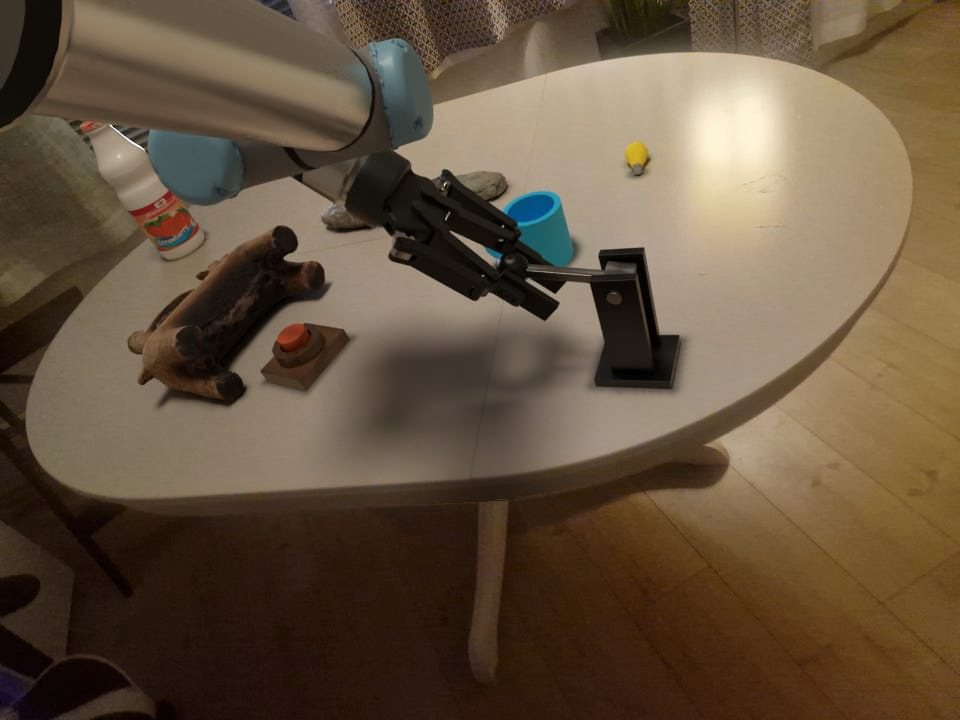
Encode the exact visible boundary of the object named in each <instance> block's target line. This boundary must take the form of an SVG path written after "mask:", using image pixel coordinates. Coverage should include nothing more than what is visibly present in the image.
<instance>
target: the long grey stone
mask: <svg viewBox="0 0 960 720" xmlns="http://www.w3.org/2000/svg"><path fill="white" fill-rule="evenodd" d="M454 176H455V177H456V178H457V179H458V180H459V181H460V182H461V183H462V184H463V185H464V186H466V187H467V188H469V189H470V190H472V191H473V192H475V193H476V194H478V195H479V196H480V197H482V198H483V199H485V200H486V201H488V200H490V199H492V198H496V197H497V196H500V195H501V194H502V193H504V191H505V190H506V188H507V185H508V184H507V183H508V181H507V180H506V179H507V178H506V176H504V175H503V173H502V172H498V171H488V170H478V171H473V172H470V173H465V174H459V175H454ZM320 216H321V217H320V221H321V222H322V224H323V225H325V226H329V227H330V228H331V229H332V228H333V229H336V230H337V229H340V228H341V229H355V228H360V227H361V228H362V227H365V226H366V227H369V228H371V229H373V227H372V226H370V225H368V224H366V223H365V222H363V221H361V220H360V219H358V218H357V217H355V216H353V215H352V214H350V213H348V212H347V211H346V208H345V202H343V203H341V204H338V205H336V204H334V203H333V202H332V203H331V204H329V205H328V206H327V207H325V208H324V209H323V210H322V212H321V214H320Z"/></svg>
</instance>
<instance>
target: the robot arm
mask: <svg viewBox="0 0 960 720" xmlns="http://www.w3.org/2000/svg"><path fill="white" fill-rule="evenodd" d="M31 115H34V116H40V117H41V116H42V117H49V118H56V119H57V118H58V119H64V120H65V119H66V120H74V121H80V122H85V121H88V122H96V123H104V124H110V125H111V126H119V127H127V128H128V127H129V128H134V129H135V128H136V129H144V130H149V133H148V137H147V154H148V156H149V160H150V162H151V165H152V167H153V169H154V172H155V173H156V174H157V176H158V178H159V180H160V181H161V183H162V184H163V185H164V186H165V187H166V188H167V189H168V190H169V191H170V192H171V193H172V194H173V195H175V196H176V197H178V198H179V199H180V200H181V201H182V202H185V203H189V204H191V205H195V206H199V207H210V206H216V205H217V204H219V203H222V202H224V201H226V200H232V199H235V198H236V197H237V196H238V195H239V194H240V193H242V191H244V190H247V189H250V188H253V187H256V186H260V185H263V184H267V183H271V182H274V181H278V180H282V179H286V178H289V177H290V178H291V179H294V180H296V181H297V182H298V183H300V184H301V185H303V186H305V187H306V188H308V189H310V190H311V191H313V192H314V193H317V194H318V195H320V196H322V197H323V198H324V199H326V200H327V201H329V202H331V203H332V204H333V203H334V204H336V205H338V204H341V203H343V202H345V208H346V211H347V212H348V213H350V214H352V215H353V216H355V217H357V218H358V219H360V220H361V221H363V222H365V223H366V224H368V225H370V226H372V228H376V227H378V226H381V227H382V228H383V229H384V230H385V231H386V232H387V234H388V236H390V237H391V238H392V239H391V248H390V250H389V251H388V255H387V258H388V259H389V261H390V262H391V263H395V264H399V265H400V264H401V265H404V266H407V267H411V268H412V269H414V270H417V271H418V272H420V273H422V274H424V275H425V276H427V277H429V278H431V279H432V280H434V281H436V282H438V283H439V284H442V285H444V287H447V288H449V289H451V290H452V291H454V292H456V293H458V294H460V295H462V296H463V297H465V298H467V299H469V300H470V301H472V302H479V300H480V299H481V298H486V297H487V296H488V294H489V293H490V294H493V296H496V297H497V298H499V299H501V300H502V301H505V302H506V303H507V304H509V305H510V306H511V307H515V308H519V307H520V308H521V309H523V310H525V311H526V312H529V313H530V314H532V315H533V316H535V317H536V318H538V319H540V320H541V321H543V322H546V321H547V320H548V319H549V318H550V317H551V316H552V315H553V313H555V311H556V310H558V309H559V307H560V303H561V302H560V301H559V300H557V299H555V298H554V297H552V296H551V295H549V294H547V293H546V292H544V291H543V290H541V289H539V288H538V287H536V286H535V285H533V284H532V283H529V282H528V281H527V280H526V281H525V280H523V279H522V278H520V277H518V276H517V275H515V274H514V273H512V272H510V271H509V270H507V269H505V270H504V271H503V273H502V274H501V275H500V273H499V272H498V271H497V270H496V269H495V266H492V265H491V264H490V263H489V262H488V261H486V260H485V259H484V258H483V257H481V255H479V254H478V253H477V252H475V251H474V250H473V249H472V248H471V247H469V246H468V245H467V244H465V242H463V241H462V240H461V239H459V238H458V237H457V236H456V235H455V234H457V235H459V236H461V237H462V238H465V239H467V240H469V241H472V242H474V243H475V244H479V245H480V246H483V247H484V246H485V247H487V248H489V249H491V250H493V251H495V252H498V253H500V254H502V255H504V254H506V253H508V252H517V253H520V254H522V255H523V256H524V257H525V258H526V259H527V260H528V262H529V264H534V265H546V266H555V265H553V264H551V263H550V262H548V261H547V260H545V259H544V258H542V256H541V254H540V253H538V252H537V251H535V250H534V249H532V248H530V247H529V246H527V245H526V244H524V243H523V242H521V241H520V240H519V238H520V237H521V235H522V232H521V231H520V230H519V229H518V228H517V227H518V223H517V222H516V221H515V220H514V219H512V218H511V217H509V216H508V215H507V214H505V213H504V212H502V211H503V210H501V209H499V208H498V207H496V206H495V205H494V204H492V203H490V202H489V201H488V200H485V199H483V198H482V197H480V196H479V195H478V194H476V193H475V192H473V191H472V190H470V189H469V188H467V187H466V186H464V185H463V184H462V183H461V182H460V181H459V180H458V179H457V178H456V177H455V176H456V175H454V173H453V172H452V171H451V170H449V169H446V168H443V169H442V170H441V172H440V174H439V176H436V177H434V178H432V179H430V178H429V177H427V176H423V175H421V174H417V173H415V172H414V171H413V169H412V162H411V161H410V160H409V159H407V158H406V157H404V156H403V155H401V154H400V153H398V152H396V150H398V149H399V148H400V147H403V146H406V145H409V144H412V143H415V142H418V141H421V140H423V139H426V137H427V136H428V135H429V134H430V132H431V131H432V128H433V124H434V117H435V116H434V103H433V97H432V92H431V88H430V83H429V80H428V76H427V74H426V71H425V68H424V65H423V64H422V61H421V58H420V57H419V56H418V54H417V52H416V51H415V49H414V48H413V47H412V45H411V44H409V42H407V41H406V40H404V39H402V38H390V39H385V40H381V41H378V42H375V41H373V40H372V41H371V42H368V43H367V44H366V45H364V46H362V47H359V48H352V47H349V46H347V45H345V44H344V43H341V42H339V41H338V40H336V39H334V38H331V37H329V36H327V35H325V34H323V33H321V32H319V31H317V30H315V29H313V28H311V27H309V26H307V25H305V24H303V23H301V22H299V21H297V20H295V19H293V18H291V17H289V16H287V15H285V14H283V13H282V12H279V11H277V10H275V9H273V8H272V7H269V6H267V5H265V4H263V3H261V2H259V1H257V0H0V133H3V132H6V131H8V130H10V129H12V128H15V127H16V126H17V125H19V124H21V123H23V122H24V121H25V120H26V119H28V117H30V116H31ZM503 225H504V226H503ZM370 226H369V227H370ZM516 228H517V229H516ZM453 233H454V234H453ZM529 279H530V280H532V281H533V282H534V283H536V284H538V285H540V286H541V287H542V288H544V289H546V290H547V291H549V292H550V293H552V294H554V295H556V294H557V293H558V292H559V291H560V290H561V289H562V287H564V285H565V284H566V283H567V282H568V281H557V280H546V279H535V278H529Z"/></svg>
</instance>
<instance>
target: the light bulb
mask: <svg viewBox="0 0 960 720" xmlns="http://www.w3.org/2000/svg"><path fill="white" fill-rule="evenodd" d="M648 155H649V149H648V147H647V145H645V143H644V142H641V141H633V142H631V143H630V144H629V145H627V147H626V148H625V152H624V158H625V160H626V162H627V163H628V164H629V165H630V168H631V169H632V173H633V175H635V176H639V175H641V174H642V173H643V167H644V164H645V163H646V162H647V160H648Z"/></svg>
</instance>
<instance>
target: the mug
mask: <svg viewBox="0 0 960 720" xmlns="http://www.w3.org/2000/svg"><path fill="white" fill-rule="evenodd" d="M501 211H502V212H504V213H505V214H507V215H508V216H509V217H511V218H512V219H514V220H515V221H516V222H517V223H518V227H517V228H518V229H519V230H520V231H521V232H522V235H521V237H520V238H519V240H520V241H521V242H523V243H524V244H526V245H527V246H529V247H530V248H532V249H534V250H535V251H537V252H538V253H540V254H541V256H542V258H544V259H545V260H547V261H548V262H550V263H551V264H553V265H555V266H559V267H566V265H568V264H569V263H570V261H571V260H572V259H573V257H574V254H575V250H574V246H573V241H572V238H571V235H570V230H569V226H568V222H567V219H566V216H565V212H564V208H563V203H562V200H561V197H560V196H559V195H558V194H557V193H556V192H553V191H550V190H549V191H548V190H539V191H532V192H528V193H525V194H523V195H520V196H518V197H516V198H515V199H513V200H512V201H509V203H507V205H505V207H503V209H502V210H501ZM502 227H504V225H503V226H502ZM517 228H516V229H517ZM483 248H484V250H485V251H486V253H487V254H488V255H490V256H491V257H492V258H493V259H496V260H498V259H499V258H500V257H501V256H502V254H500V253H498V252H495V251H493V250H491V249H489V248H487V247H485V246H483Z"/></svg>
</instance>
